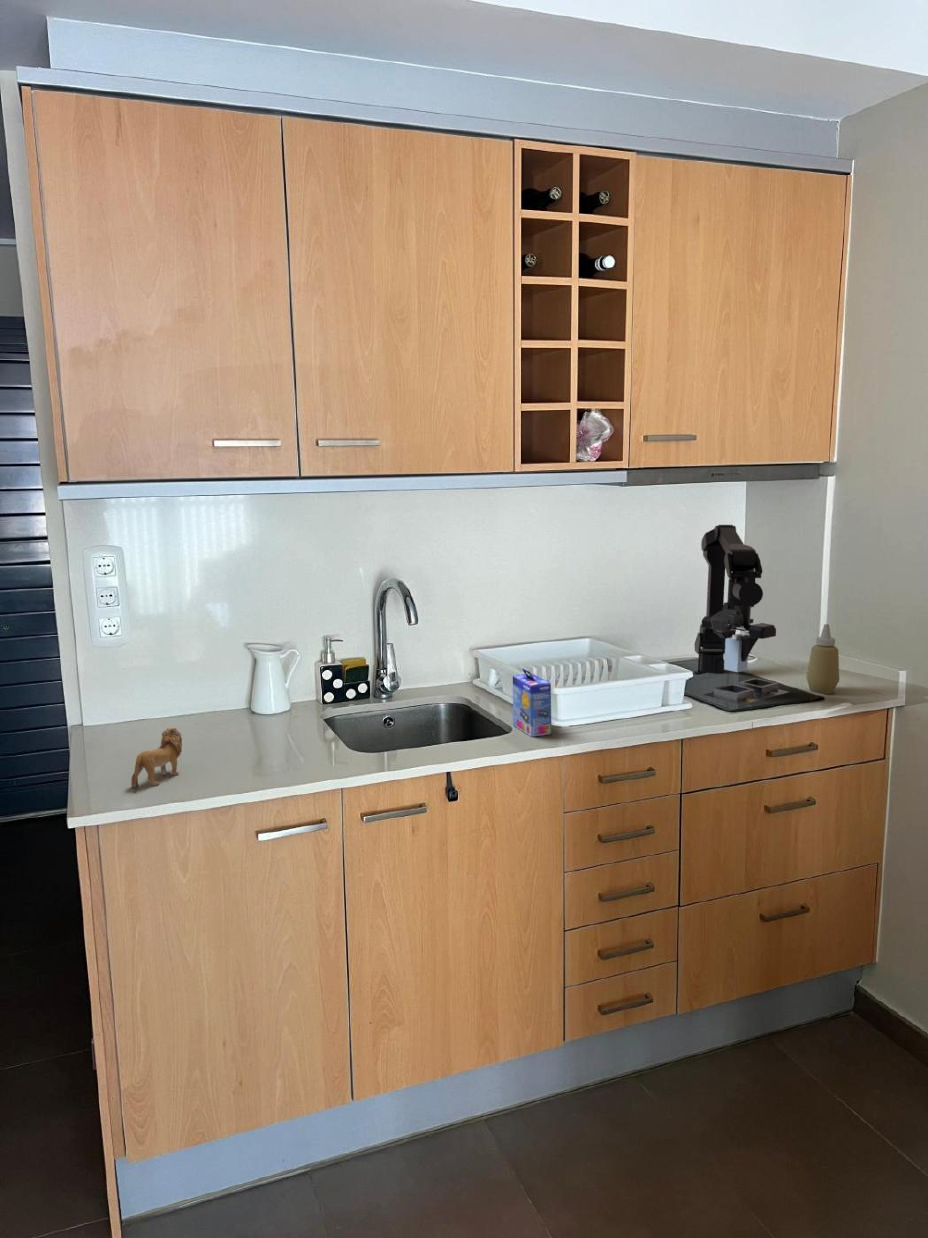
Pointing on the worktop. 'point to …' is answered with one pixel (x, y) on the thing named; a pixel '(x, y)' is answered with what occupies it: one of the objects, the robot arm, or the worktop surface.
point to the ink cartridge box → (532, 704)
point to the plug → (734, 654)
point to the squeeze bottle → (823, 664)
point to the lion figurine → (159, 757)
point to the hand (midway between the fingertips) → (736, 659)
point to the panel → (746, 691)
